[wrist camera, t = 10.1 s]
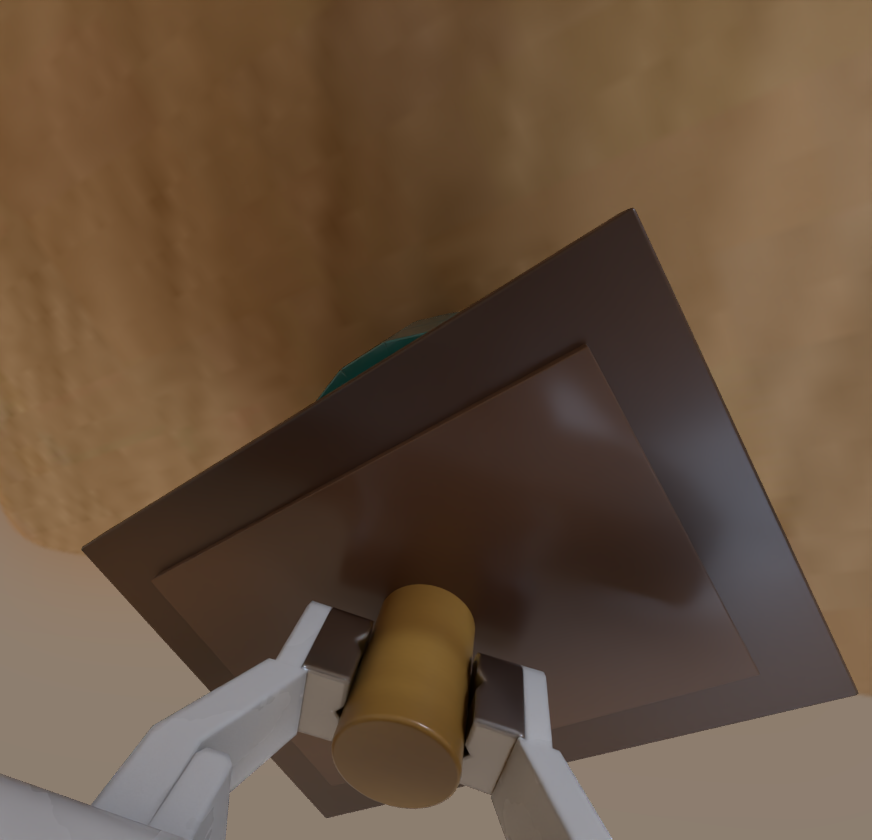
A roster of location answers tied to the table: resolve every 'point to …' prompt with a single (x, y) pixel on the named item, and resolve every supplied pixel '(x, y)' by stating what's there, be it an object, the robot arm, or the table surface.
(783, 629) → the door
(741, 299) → the table surface
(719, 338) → the table surface
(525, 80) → the table surface
